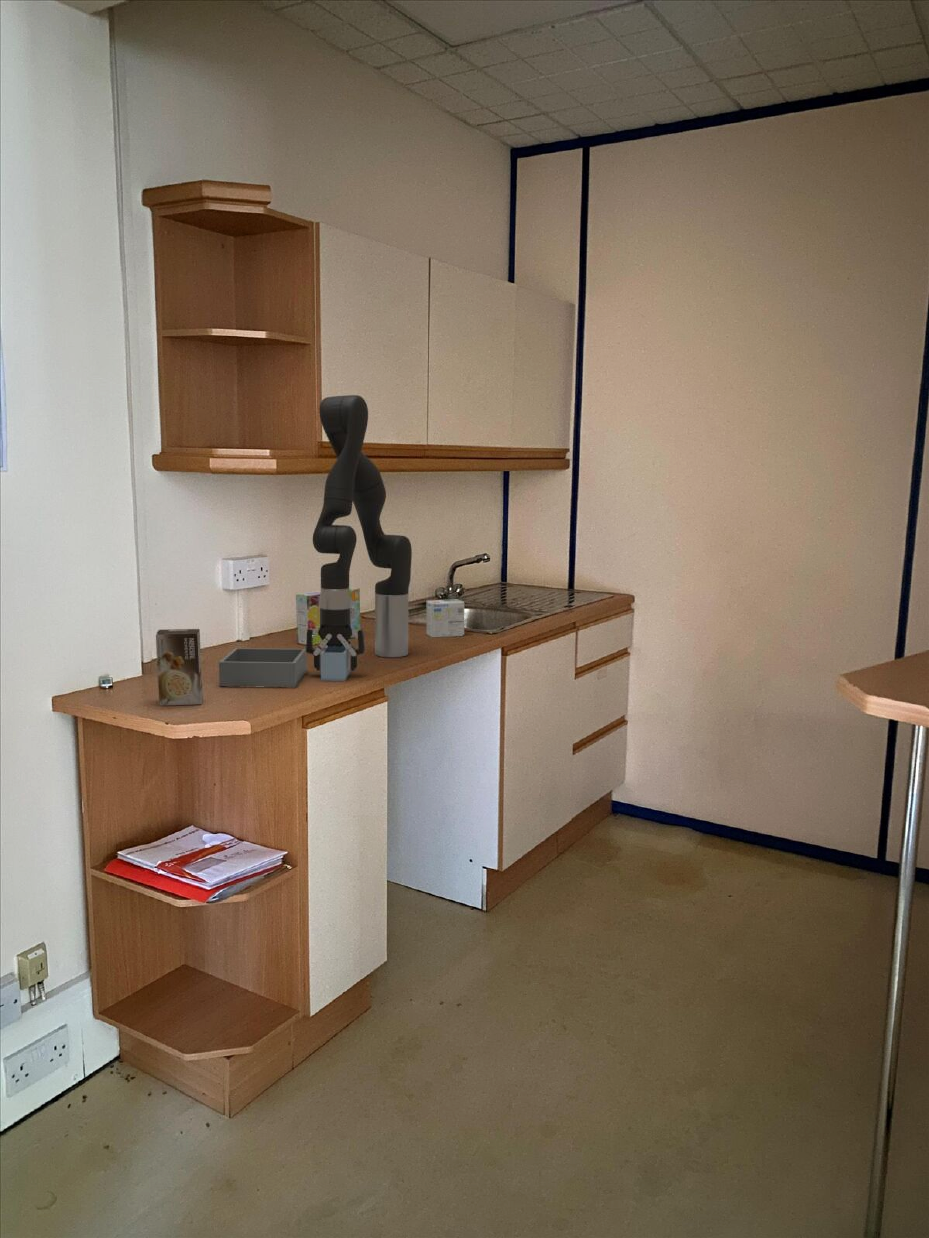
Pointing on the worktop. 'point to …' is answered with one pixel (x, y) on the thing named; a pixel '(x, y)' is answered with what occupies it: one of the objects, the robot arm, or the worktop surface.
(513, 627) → the worktop surface
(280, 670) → the charcoal crate
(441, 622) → the light bulb box
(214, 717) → the worktop surface
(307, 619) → the snack box
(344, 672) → the blue open bin
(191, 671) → the coffee box
